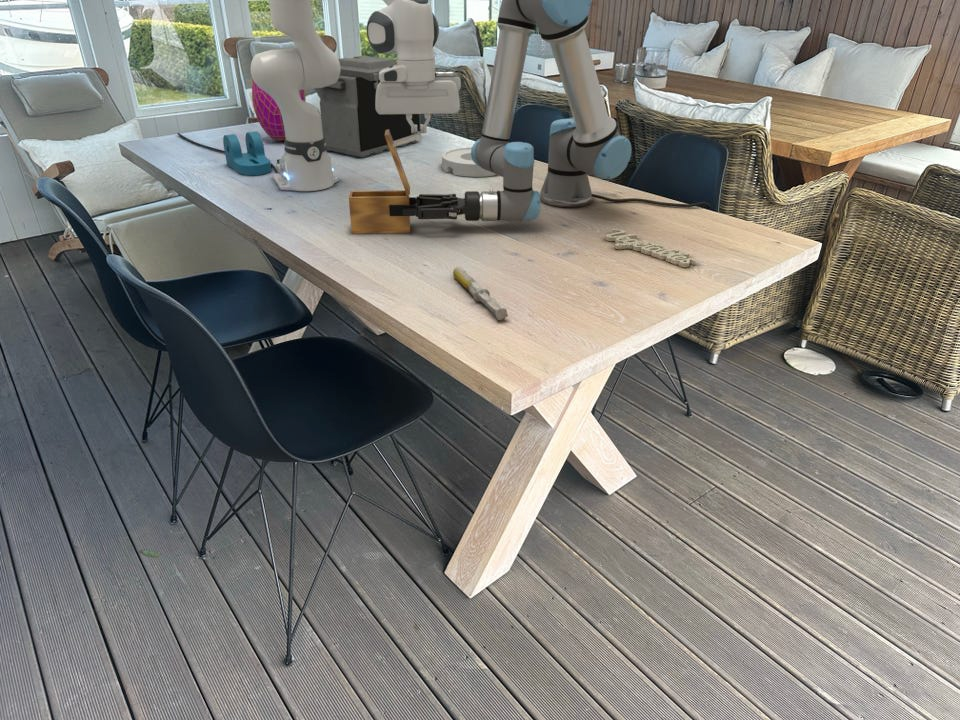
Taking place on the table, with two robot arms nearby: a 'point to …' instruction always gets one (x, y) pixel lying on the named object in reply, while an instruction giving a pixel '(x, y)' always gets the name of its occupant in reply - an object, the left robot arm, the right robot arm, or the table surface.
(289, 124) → the left robot arm
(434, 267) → the table surface
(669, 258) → the decorative sign
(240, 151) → the camera mount
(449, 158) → the ashtray
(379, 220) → the chest
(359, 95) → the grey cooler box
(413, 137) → the lid
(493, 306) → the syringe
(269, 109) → the decorative egg
